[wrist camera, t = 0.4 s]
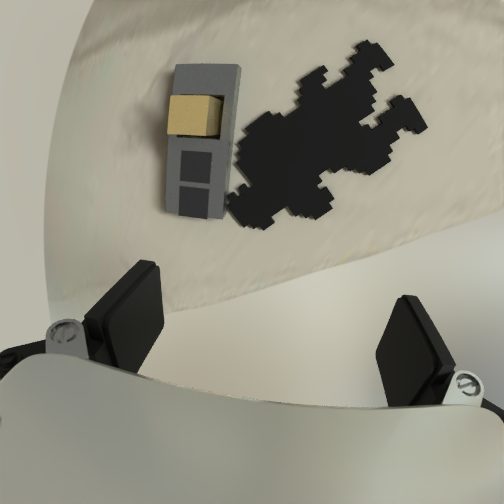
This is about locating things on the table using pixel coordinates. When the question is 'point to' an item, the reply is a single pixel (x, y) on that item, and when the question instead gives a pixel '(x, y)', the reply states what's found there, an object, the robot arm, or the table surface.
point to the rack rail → (202, 145)
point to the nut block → (195, 115)
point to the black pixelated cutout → (318, 142)
